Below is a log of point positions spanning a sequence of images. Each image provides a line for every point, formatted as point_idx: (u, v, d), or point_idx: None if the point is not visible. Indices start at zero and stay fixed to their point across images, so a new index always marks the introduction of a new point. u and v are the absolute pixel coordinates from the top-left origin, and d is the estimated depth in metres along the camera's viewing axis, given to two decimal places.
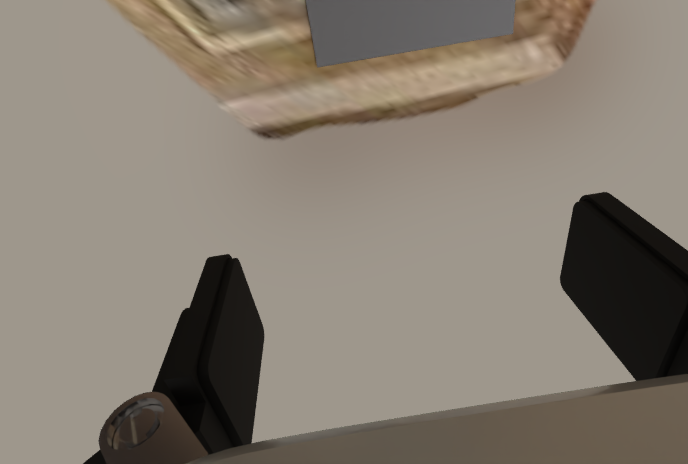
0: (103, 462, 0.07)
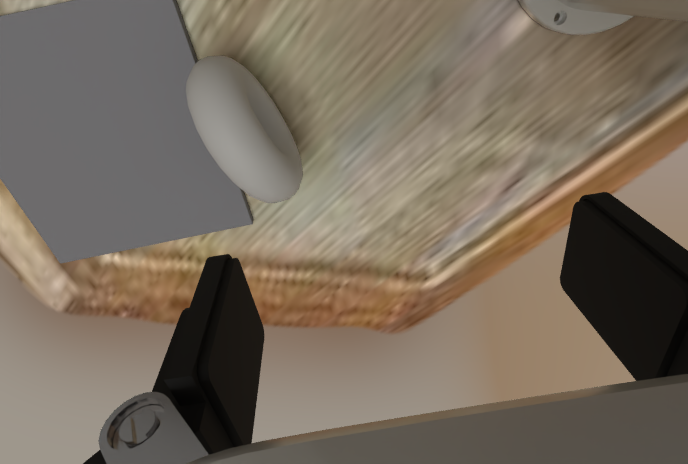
0: (103, 462, 0.07)
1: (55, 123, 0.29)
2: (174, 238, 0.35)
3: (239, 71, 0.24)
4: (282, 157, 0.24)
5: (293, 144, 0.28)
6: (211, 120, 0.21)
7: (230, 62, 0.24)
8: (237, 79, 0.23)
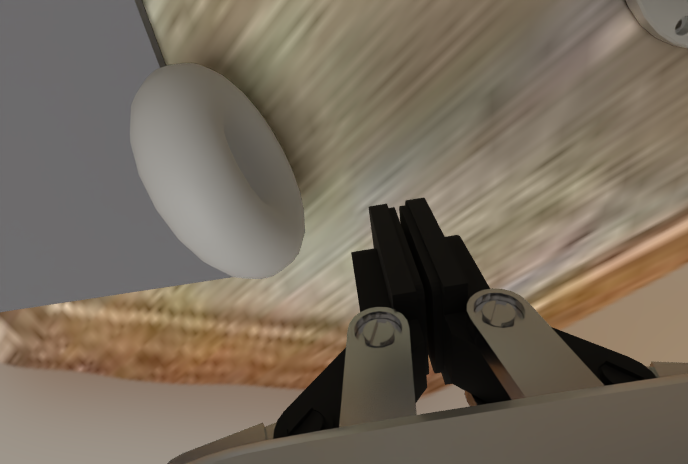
0: None
1: None
2: (138, 289, 0.27)
3: (215, 89, 0.16)
4: (273, 221, 0.16)
5: (294, 187, 0.20)
6: (160, 172, 0.13)
7: (201, 75, 0.16)
8: (209, 103, 0.15)
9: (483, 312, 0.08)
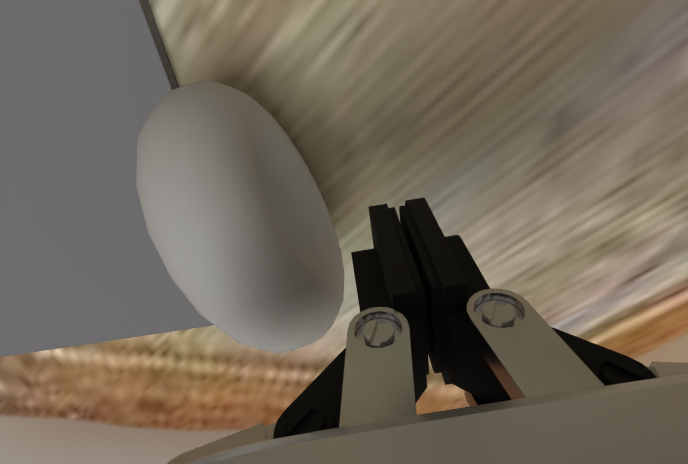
0: None
1: None
2: (140, 334, 0.23)
3: (243, 116, 0.13)
4: (318, 283, 0.13)
5: (330, 227, 0.17)
6: (177, 232, 0.10)
7: (227, 99, 0.12)
8: (239, 136, 0.12)
9: (483, 312, 0.08)
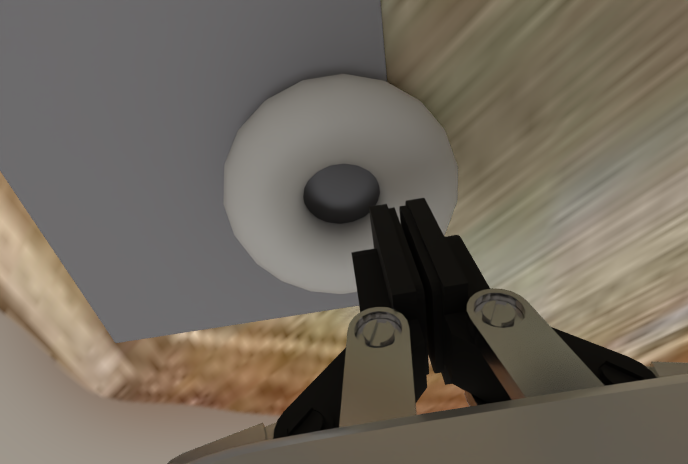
0: None
1: (134, 144, 0.17)
2: (287, 314, 0.23)
3: (312, 139, 0.14)
4: (285, 266, 0.17)
5: None
6: None
7: (308, 119, 0.14)
8: (278, 155, 0.14)
9: (483, 312, 0.08)
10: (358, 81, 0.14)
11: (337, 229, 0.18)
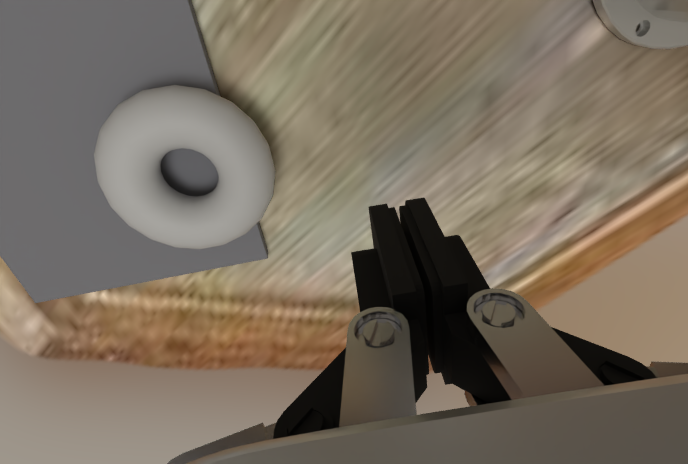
0: None
1: (32, 139, 0.23)
2: (174, 274, 0.29)
3: (147, 130, 0.21)
4: (147, 225, 0.23)
5: (230, 214, 0.24)
6: None
7: (142, 116, 0.20)
8: (125, 141, 0.21)
9: (483, 312, 0.08)
10: (180, 90, 0.21)
11: (191, 199, 0.25)
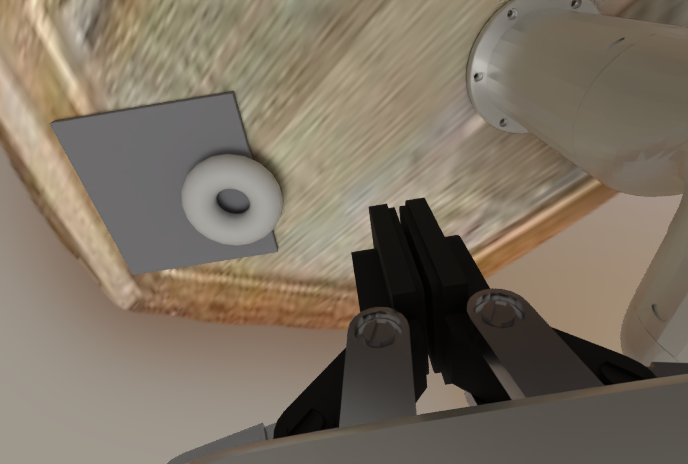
0: None
1: (144, 179, 0.41)
2: (219, 260, 0.47)
3: (213, 180, 0.38)
4: (208, 231, 0.40)
5: (256, 226, 0.41)
6: None
7: (211, 173, 0.37)
8: (200, 186, 0.38)
9: (483, 312, 0.08)
10: (231, 158, 0.38)
11: (233, 216, 0.42)
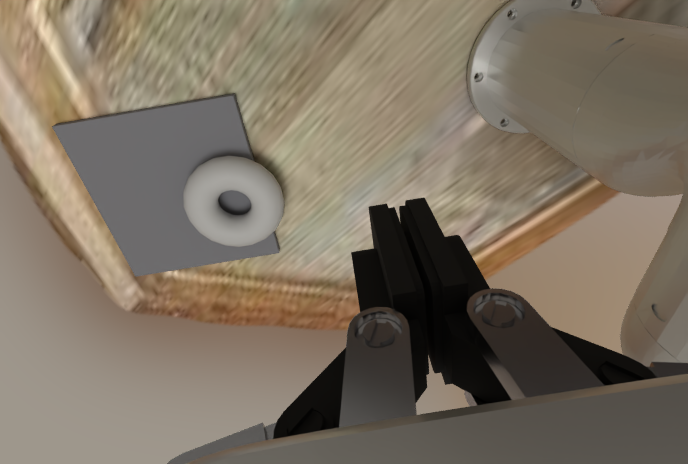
0: None
1: (146, 181, 0.41)
2: (221, 261, 0.47)
3: (214, 182, 0.38)
4: (210, 232, 0.41)
5: (257, 227, 0.41)
6: None
7: (212, 175, 0.38)
8: (202, 188, 0.38)
9: (483, 312, 0.08)
10: (232, 160, 0.38)
11: (235, 217, 0.42)
